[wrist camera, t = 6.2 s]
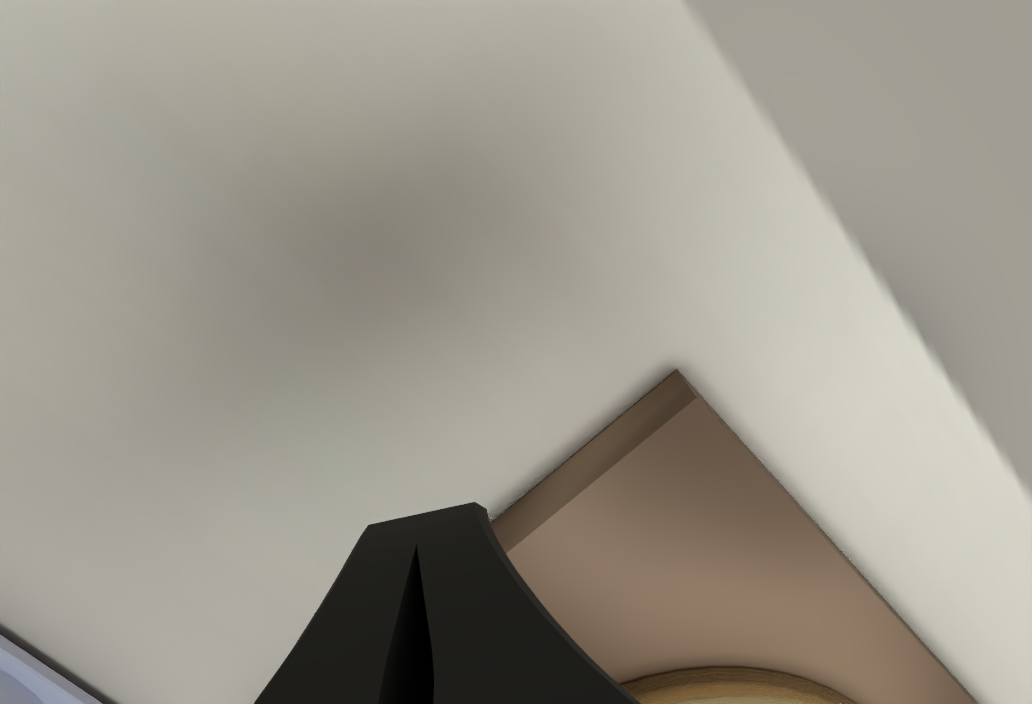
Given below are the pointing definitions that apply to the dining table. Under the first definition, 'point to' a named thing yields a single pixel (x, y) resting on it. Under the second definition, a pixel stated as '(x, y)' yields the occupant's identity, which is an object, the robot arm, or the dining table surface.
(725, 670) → the dial
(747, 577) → the walnut stand
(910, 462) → the dining table surface
